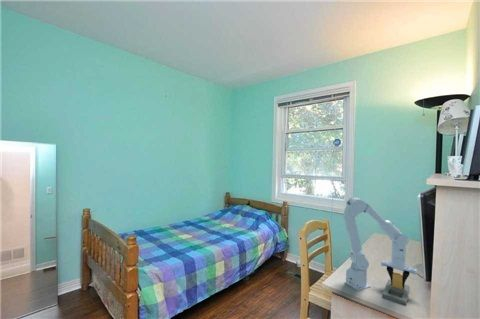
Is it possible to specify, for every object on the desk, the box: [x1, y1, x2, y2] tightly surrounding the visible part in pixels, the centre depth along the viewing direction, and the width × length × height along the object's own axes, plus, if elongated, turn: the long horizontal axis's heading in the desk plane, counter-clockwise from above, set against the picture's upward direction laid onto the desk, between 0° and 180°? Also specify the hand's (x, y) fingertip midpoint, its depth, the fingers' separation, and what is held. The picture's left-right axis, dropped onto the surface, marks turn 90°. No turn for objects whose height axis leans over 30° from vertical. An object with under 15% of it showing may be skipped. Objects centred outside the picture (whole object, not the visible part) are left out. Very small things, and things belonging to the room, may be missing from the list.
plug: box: [392, 270, 404, 290], centre depth 115 cm, size 4×4×8 cm
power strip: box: [381, 278, 410, 306], centre depth 111 cm, size 18×9×2 cm, turn 140°
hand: (397, 284), depth 115 cm, fingers closed on plug, 4 cm apart
